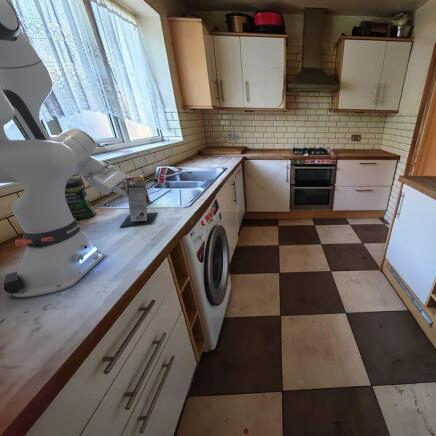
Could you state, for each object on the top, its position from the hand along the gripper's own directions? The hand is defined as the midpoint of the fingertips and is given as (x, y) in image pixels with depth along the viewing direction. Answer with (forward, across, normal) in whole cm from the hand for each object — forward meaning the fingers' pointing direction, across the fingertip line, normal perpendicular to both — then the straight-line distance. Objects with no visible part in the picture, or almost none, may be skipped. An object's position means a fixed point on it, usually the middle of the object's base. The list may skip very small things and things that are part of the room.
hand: (129, 191), depth 99 cm
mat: (+10, 0, +10) cm, 14 cm away
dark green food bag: (-9, +12, +29) cm, 32 cm away
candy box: (+7, +22, +13) cm, 27 cm away
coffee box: (+9, -1, +8) cm, 12 cm away
